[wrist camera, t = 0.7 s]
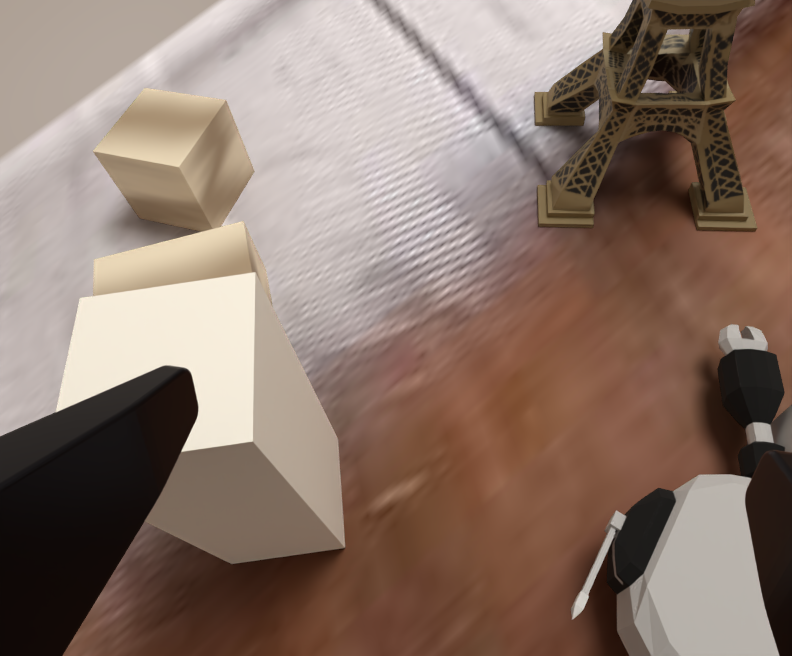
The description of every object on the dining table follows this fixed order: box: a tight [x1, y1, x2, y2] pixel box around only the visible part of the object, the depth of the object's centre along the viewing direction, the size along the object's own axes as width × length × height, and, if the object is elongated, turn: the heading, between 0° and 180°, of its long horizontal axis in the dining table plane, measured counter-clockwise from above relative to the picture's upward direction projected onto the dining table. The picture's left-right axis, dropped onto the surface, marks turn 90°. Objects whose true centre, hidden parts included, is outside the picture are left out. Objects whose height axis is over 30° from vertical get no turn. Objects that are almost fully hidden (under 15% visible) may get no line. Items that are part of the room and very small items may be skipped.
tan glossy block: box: [93, 221, 273, 307], centre depth 26 cm, size 7×7×4 cm
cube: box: [93, 88, 255, 232], centre depth 31 cm, size 5×5×5 cm
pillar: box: [56, 272, 345, 564], centre depth 18 cm, size 4×4×12 cm
